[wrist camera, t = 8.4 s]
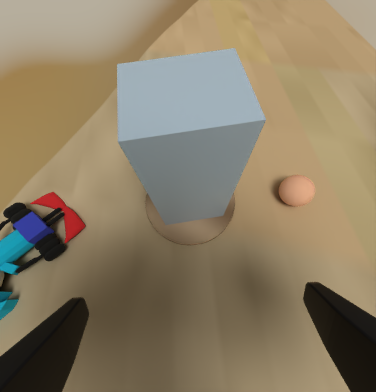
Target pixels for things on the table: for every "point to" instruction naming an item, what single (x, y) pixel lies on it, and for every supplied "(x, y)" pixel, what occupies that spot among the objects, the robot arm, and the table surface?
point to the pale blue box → (188, 130)
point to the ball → (297, 190)
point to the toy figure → (33, 238)
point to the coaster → (190, 225)
